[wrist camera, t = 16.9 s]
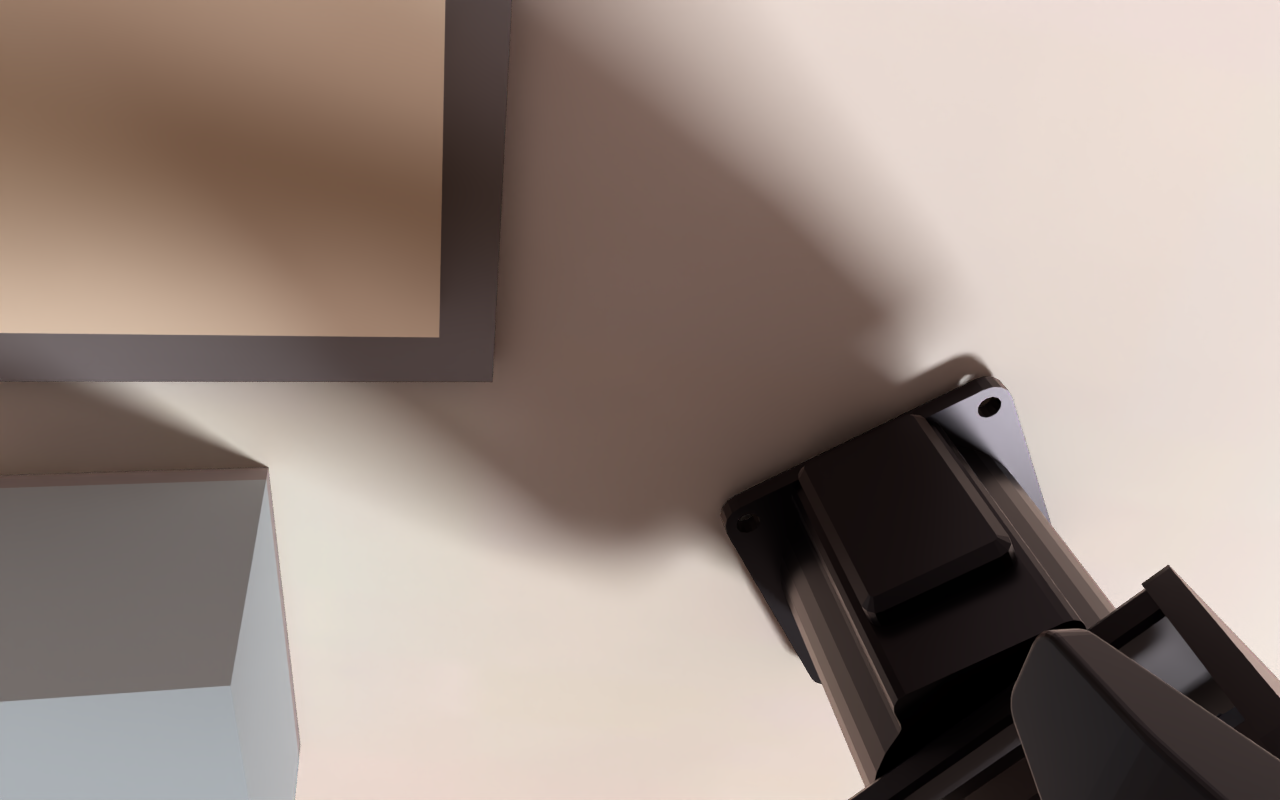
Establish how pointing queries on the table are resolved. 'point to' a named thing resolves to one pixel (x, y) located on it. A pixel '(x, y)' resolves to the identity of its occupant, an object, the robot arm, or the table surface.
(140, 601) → the block
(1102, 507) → the table surface
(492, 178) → the board
